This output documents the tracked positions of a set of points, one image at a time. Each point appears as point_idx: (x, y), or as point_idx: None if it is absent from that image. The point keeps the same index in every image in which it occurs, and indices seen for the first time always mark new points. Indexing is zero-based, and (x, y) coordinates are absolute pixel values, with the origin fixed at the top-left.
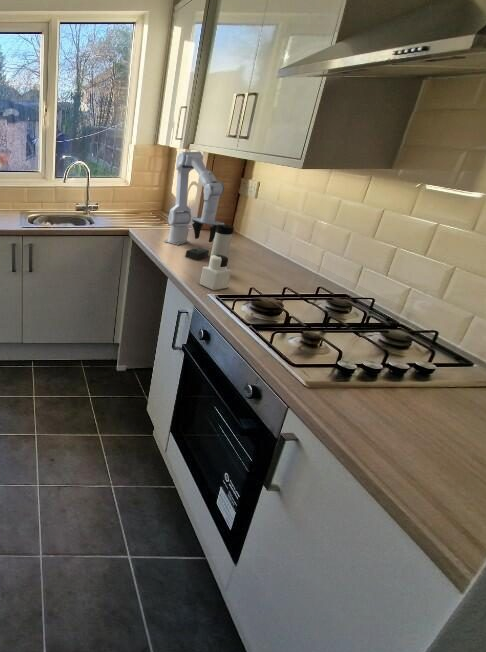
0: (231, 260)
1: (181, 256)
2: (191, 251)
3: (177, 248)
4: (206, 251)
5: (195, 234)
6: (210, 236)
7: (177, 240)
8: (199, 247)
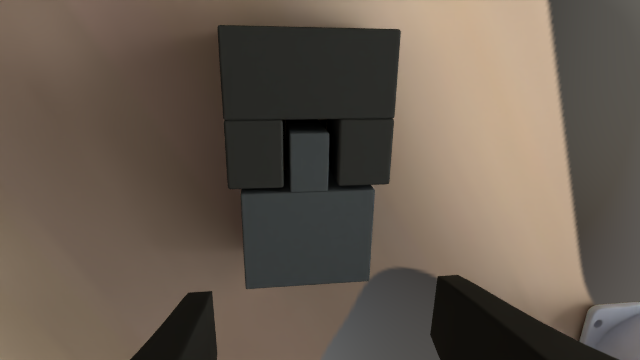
0: (34, 318)
1: (413, 14)
2: (339, 51)
3: (555, 225)
4: (243, 235)
5: (498, 307)
6: (160, 352)
7: (633, 344)
8: (365, 280)
